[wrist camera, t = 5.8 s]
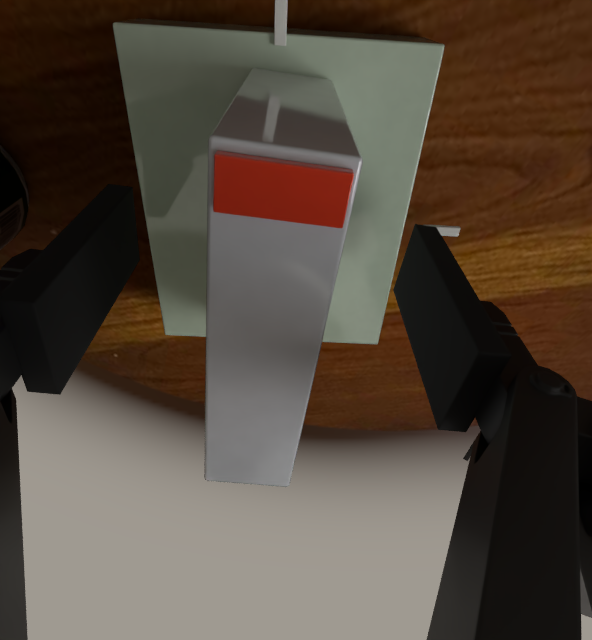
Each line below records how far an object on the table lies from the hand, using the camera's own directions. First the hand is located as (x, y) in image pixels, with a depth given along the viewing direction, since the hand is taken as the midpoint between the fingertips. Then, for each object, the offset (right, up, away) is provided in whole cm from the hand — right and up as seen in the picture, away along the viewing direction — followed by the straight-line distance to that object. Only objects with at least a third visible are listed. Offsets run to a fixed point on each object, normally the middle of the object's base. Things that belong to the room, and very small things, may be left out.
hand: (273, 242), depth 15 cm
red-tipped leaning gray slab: (0, +1, +1) cm, 2 cm away
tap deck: (0, +3, +3) cm, 4 cm away
